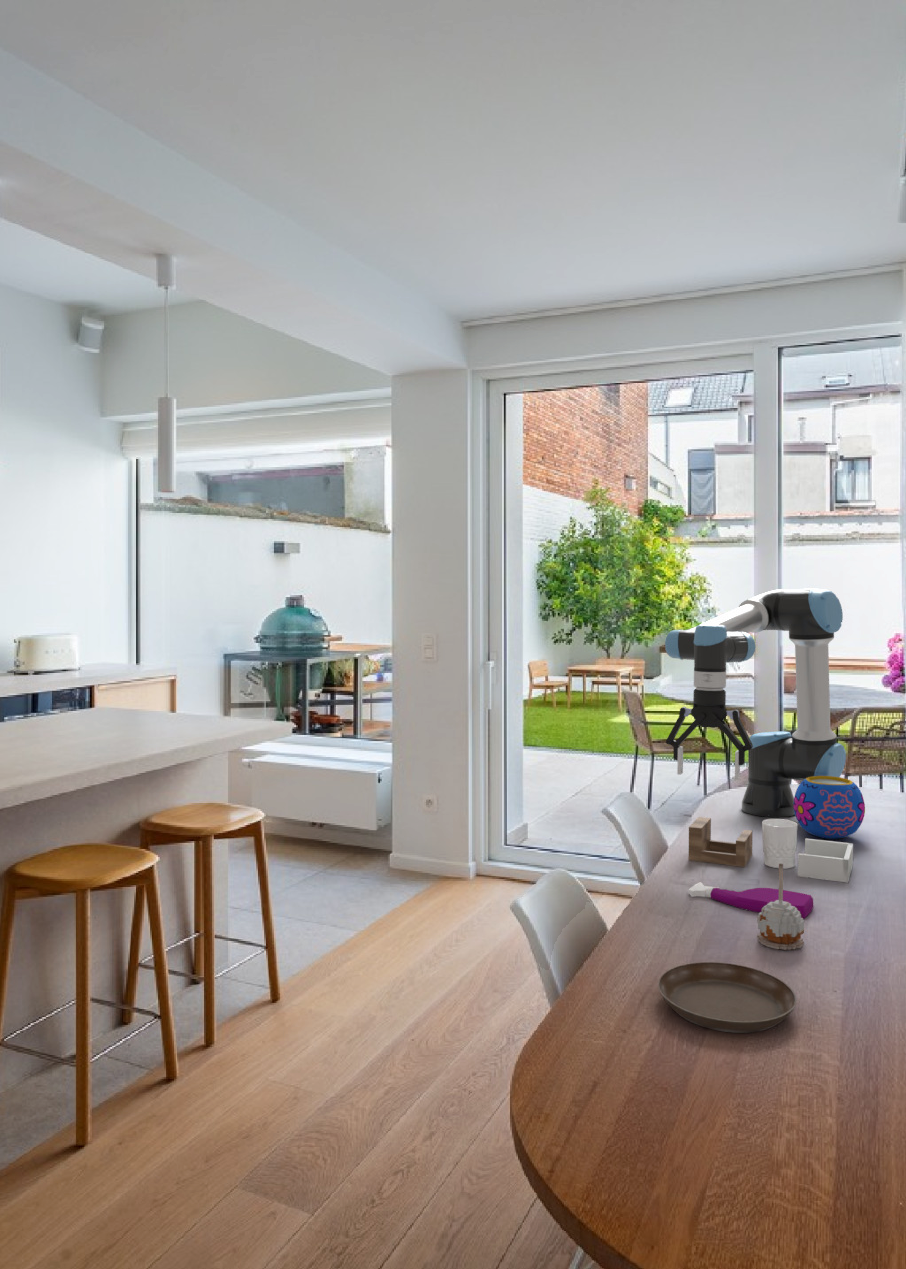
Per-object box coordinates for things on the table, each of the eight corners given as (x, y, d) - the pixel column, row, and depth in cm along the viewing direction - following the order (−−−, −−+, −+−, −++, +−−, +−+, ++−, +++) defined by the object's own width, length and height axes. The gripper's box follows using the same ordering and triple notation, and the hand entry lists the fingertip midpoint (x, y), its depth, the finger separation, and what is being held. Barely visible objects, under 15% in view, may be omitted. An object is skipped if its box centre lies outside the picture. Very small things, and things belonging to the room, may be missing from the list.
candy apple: (767, 933, 178) (768, 855, 177) (808, 943, 173) (809, 862, 172) (751, 945, 172) (752, 864, 171) (793, 956, 167) (794, 872, 166)
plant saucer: (808, 1046, 135) (808, 1024, 135) (660, 1035, 138) (661, 1013, 138) (783, 986, 155) (783, 966, 155) (655, 977, 159) (655, 958, 158)
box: (805, 858, 226) (805, 838, 226) (852, 864, 221) (853, 843, 221) (797, 876, 213) (798, 854, 213) (848, 882, 208) (848, 860, 208)
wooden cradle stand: (698, 848, 236) (698, 816, 235) (752, 854, 230) (752, 822, 229) (688, 860, 226) (688, 827, 225) (744, 867, 220) (744, 833, 220)
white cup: (790, 871, 216) (791, 828, 216) (756, 865, 221) (757, 823, 220) (801, 863, 222) (802, 821, 222) (768, 858, 227) (768, 817, 227)
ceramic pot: (851, 828, 254) (852, 773, 253) (874, 846, 237) (875, 787, 236) (785, 827, 256) (785, 772, 255) (802, 845, 238) (803, 786, 238)
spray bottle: (803, 923, 184) (682, 902, 198) (816, 907, 193) (700, 888, 207) (803, 908, 184) (682, 888, 198) (816, 893, 193) (699, 875, 207)
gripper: (654, 687, 229) (653, 774, 230) (761, 692, 219) (759, 783, 219) (661, 685, 236) (660, 769, 237) (765, 689, 225) (764, 777, 226)
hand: (708, 776), depth 228 cm, fingers open, 13 cm apart
